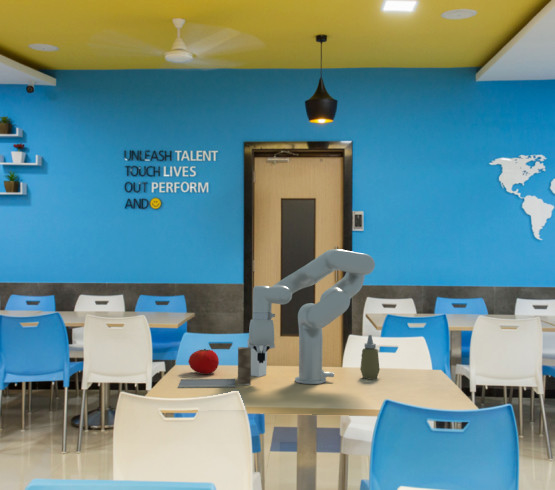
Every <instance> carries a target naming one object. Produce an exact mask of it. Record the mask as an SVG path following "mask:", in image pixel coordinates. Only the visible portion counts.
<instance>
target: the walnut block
mask: <svg viewBox="0 0 555 490" xmlns="http://www.w3.org/2000/svg"><path fill="white" fill-rule="evenodd" d="M251 377H252V376H251V348H249V347H248V346H245V347H243V346H239V347H237V385H238V386H250V385H251V384H252V383H251V382H252V381H251V379H252V378H251Z"/></svg>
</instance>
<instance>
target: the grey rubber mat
mask: <svg viewBox="0 0 555 490" xmlns="http://www.w3.org/2000/svg"><path fill="white" fill-rule="evenodd" d="M179 381H180V382H179V384H178V385H177V389H191V388H192V389H199V388H200V389H202V388H203V389H204V388H206V389H208V388H211V389H212V388H215V389H216V388H236V378H181V379H180V380H179Z"/></svg>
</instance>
